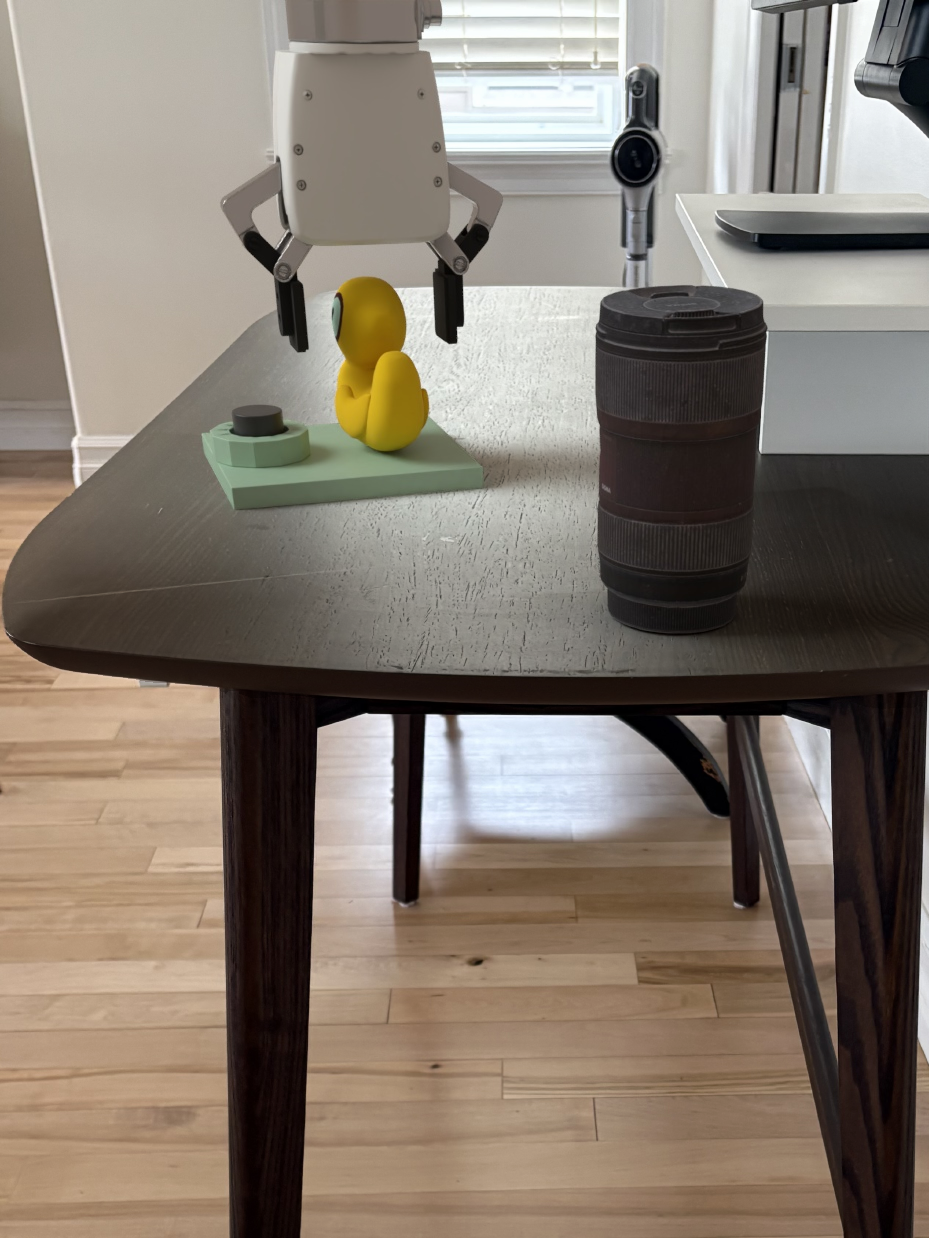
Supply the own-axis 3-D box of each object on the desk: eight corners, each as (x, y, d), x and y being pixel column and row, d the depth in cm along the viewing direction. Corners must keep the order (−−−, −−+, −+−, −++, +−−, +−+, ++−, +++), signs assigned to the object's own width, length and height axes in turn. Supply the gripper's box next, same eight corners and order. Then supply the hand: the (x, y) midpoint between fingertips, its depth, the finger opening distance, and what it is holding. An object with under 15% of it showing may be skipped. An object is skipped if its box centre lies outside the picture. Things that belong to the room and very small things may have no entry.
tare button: (238, 443, 96) (235, 418, 95) (231, 431, 99) (228, 406, 98) (288, 440, 97) (286, 414, 96) (280, 428, 99) (277, 403, 99)
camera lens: (572, 596, 81) (572, 287, 72) (711, 580, 83) (727, 279, 75) (624, 648, 75) (631, 318, 66) (773, 630, 77) (799, 308, 68)
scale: (233, 511, 93) (227, 460, 91) (203, 454, 104) (197, 408, 102) (484, 489, 97) (482, 440, 96) (430, 437, 108) (428, 392, 106)
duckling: (316, 429, 104) (301, 268, 98) (390, 422, 106) (380, 263, 100) (367, 470, 96) (355, 297, 90) (447, 462, 97) (440, 291, 92)
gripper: (479, 21, 92) (487, 327, 102) (192, 20, 88) (229, 340, 97) (515, 25, 87) (519, 348, 96) (209, 24, 82) (247, 364, 92)
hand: (373, 344), depth 97 cm, fingers open, 9 cm apart
